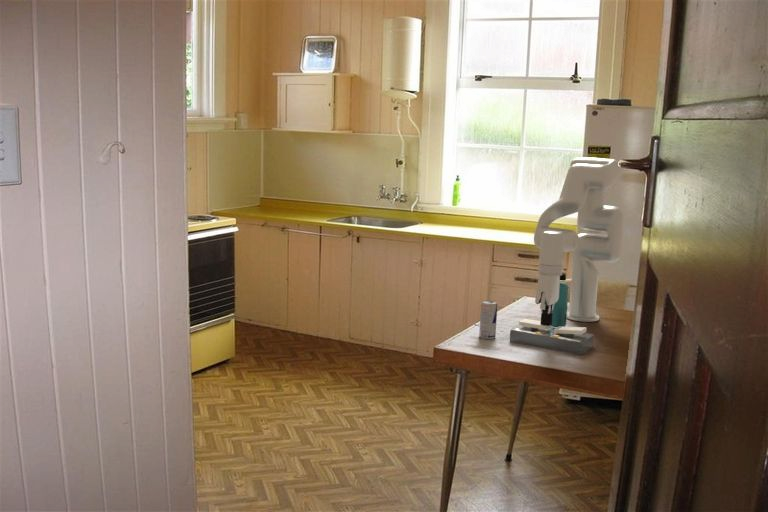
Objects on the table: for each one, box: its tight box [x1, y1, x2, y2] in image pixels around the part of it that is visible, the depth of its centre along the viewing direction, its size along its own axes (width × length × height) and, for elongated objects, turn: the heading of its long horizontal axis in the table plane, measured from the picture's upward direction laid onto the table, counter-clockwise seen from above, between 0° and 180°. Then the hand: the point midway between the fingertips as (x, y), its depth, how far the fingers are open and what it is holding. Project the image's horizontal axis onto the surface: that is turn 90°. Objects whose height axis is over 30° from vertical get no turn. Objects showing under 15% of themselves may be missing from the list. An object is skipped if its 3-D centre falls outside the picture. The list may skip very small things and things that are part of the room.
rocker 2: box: [554, 326, 587, 334], centre depth 254 cm, size 5×9×1 cm, turn 58°
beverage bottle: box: [551, 272, 570, 328], centre depth 275 cm, size 6×7×20 cm
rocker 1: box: [518, 318, 551, 330], centre depth 260 cm, size 5×9×1 cm, turn 58°
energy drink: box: [478, 300, 498, 340], centre depth 262 cm, size 5×5×12 cm
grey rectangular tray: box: [509, 324, 595, 356], centre depth 258 cm, size 12×24×5 cm, turn 58°
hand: (546, 324), depth 258 cm, fingers closed
